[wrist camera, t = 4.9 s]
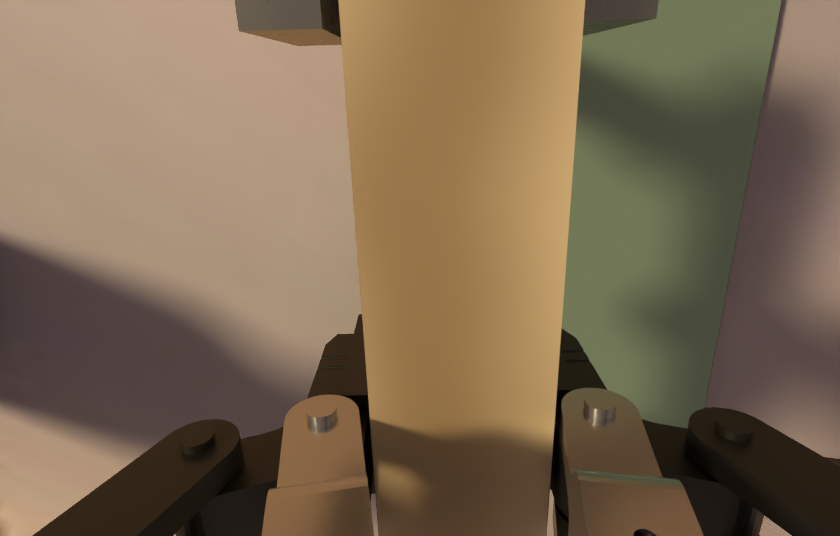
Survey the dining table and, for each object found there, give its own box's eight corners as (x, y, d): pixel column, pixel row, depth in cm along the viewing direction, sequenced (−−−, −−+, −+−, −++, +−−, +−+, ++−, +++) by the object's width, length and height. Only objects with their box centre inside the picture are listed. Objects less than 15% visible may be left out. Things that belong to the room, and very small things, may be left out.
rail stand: (498, -51, 21) (700, -359, 6) (489, 409, 29) (568, 774, 14) (350, -46, 21) (188, -343, 6) (379, 412, 29) (340, 780, 14)
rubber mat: (794, -118, 20) (804, -123, 20) (692, 433, 29) (697, 440, 29) (563, -111, 20) (568, -116, 20) (532, 438, 29) (534, 444, 29)
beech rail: (546, -262, 8) (617, -449, 5) (505, 696, 15) (525, 834, 13) (346, -254, 8) (305, -437, 5) (404, 698, 16) (401, 836, 13)
